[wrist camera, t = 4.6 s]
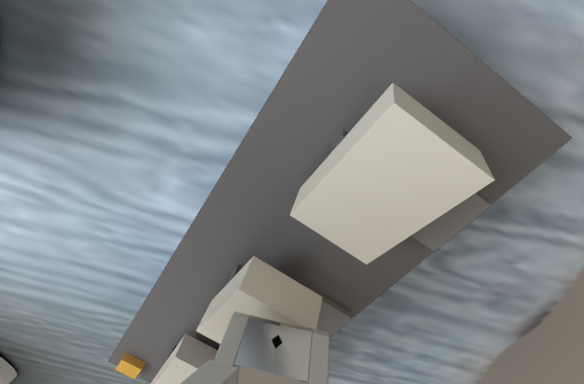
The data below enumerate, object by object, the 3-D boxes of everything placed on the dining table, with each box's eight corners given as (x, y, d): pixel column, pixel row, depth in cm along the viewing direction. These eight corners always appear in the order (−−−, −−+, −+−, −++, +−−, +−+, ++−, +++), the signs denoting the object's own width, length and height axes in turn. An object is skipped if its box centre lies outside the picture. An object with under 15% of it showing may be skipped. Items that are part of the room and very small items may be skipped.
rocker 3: (368, 233, 11) (366, 264, 9) (299, 188, 10) (289, 215, 9) (480, 150, 8) (494, 180, 7) (393, 82, 7) (393, 102, 6)
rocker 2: (267, 332, 14) (257, 364, 13) (211, 300, 13) (195, 330, 12) (322, 297, 11) (315, 333, 10) (253, 255, 10) (238, 289, 9)
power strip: (215, 387, 24) (190, 458, 20) (125, 341, 23) (79, 407, 19) (502, 110, 12) (588, 143, 8) (348, -17, 11) (357, -53, 7)
